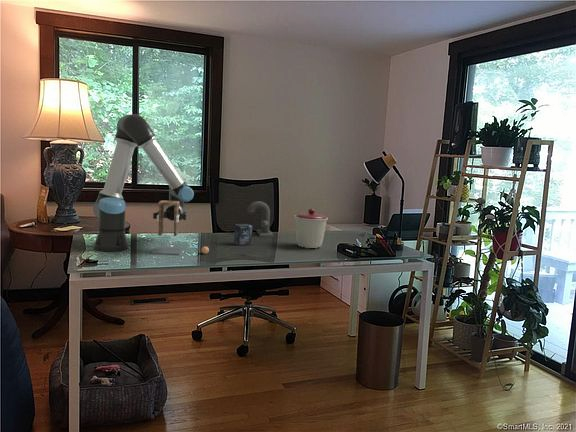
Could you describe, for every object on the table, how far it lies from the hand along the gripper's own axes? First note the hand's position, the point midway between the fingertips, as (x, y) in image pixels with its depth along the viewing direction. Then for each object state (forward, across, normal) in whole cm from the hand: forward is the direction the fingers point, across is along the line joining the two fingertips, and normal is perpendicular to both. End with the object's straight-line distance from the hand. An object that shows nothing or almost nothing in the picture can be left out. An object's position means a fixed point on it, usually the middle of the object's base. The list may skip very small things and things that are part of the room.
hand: (167, 219), depth 229 cm
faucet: (-64, -46, -17) cm, 80 cm away
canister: (-32, -72, -17) cm, 80 cm away
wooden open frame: (-5, 0, -8) cm, 9 cm away
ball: (-4, -18, -16) cm, 24 cm away
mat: (-5, 0, -16) cm, 17 cm away
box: (-31, -36, -17) cm, 50 cm away
